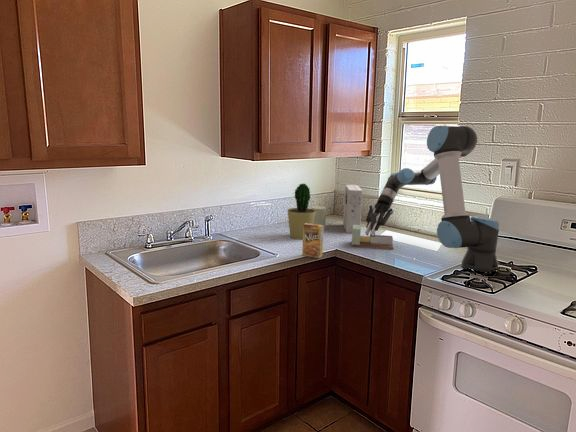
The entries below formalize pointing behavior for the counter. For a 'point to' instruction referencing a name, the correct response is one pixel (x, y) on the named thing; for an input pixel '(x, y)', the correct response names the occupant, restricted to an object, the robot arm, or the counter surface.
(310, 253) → the candy box
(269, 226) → the counter surface
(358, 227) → the socket block
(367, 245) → the base board
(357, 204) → the white upright box
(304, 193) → the potted cactus
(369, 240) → the upright peg on base
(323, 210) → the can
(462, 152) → the robot arm
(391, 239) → the sleeve
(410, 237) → the counter surface
